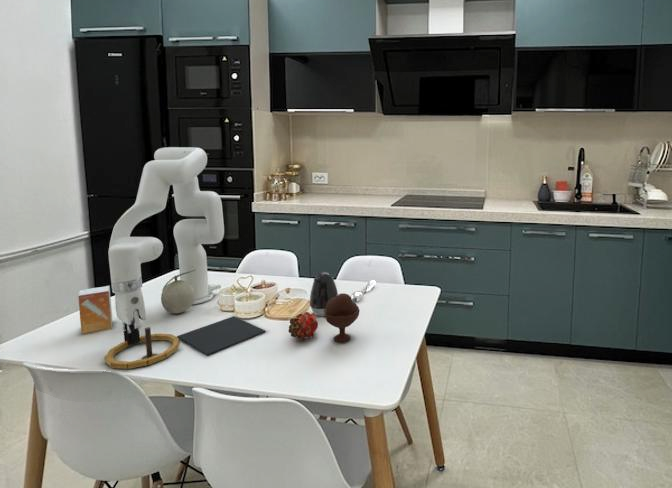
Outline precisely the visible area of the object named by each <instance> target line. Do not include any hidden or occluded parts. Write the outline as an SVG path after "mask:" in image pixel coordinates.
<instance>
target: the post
mask: <svg viewBox="0 0 672 488" xmlns="http://www.w3.org/2000/svg"><path fill="white" fill-rule="evenodd" d="M151 329H152V328H151V327H150V326H148V327H147V326H146V327H145V328H144V336H145V340H146V341H145V350H146V351H145V352H146V354H145V355H143V356H142V358H141V360H142V359H147V358H150V357H152V356H155V355H158V354H159V353H153V342H152V341H153V340H151V334H152V330H151Z"/></svg>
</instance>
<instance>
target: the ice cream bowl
mask: <svg viewBox="0 0 672 488" xmlns="http://www.w3.org/2000/svg"><path fill="white" fill-rule="evenodd" d="M324 313H325V316H324V317H325V320H326V322H327V323H328V324H329V325H330V326H332V327H334V328H337V329H339V330H338V331H339V333H338V334H336V335H335V336H334V337H333V342H334V343H337V344H346V343H350V341H352V337H351V335H350V334H348V333H346V328H348V327H349V326H351V325H352V324H353V323H355V322H356V320H358V318H359V315H360V307H359V306H358V305H357V302H353V301H352V298H351V295H350V294H348V293H338V296H336V297H333V298H332V299H330V300H329V301H328V303H327V305H326V309H325V310H324Z"/></svg>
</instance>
